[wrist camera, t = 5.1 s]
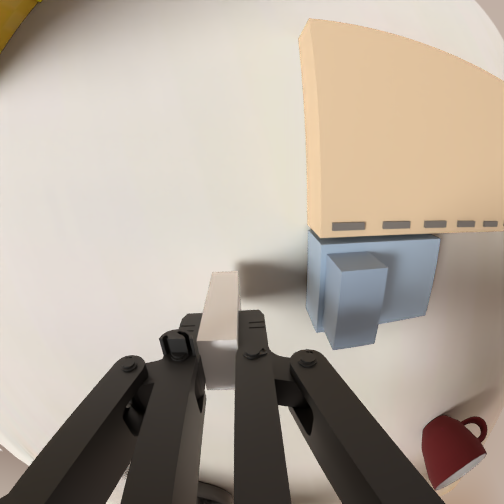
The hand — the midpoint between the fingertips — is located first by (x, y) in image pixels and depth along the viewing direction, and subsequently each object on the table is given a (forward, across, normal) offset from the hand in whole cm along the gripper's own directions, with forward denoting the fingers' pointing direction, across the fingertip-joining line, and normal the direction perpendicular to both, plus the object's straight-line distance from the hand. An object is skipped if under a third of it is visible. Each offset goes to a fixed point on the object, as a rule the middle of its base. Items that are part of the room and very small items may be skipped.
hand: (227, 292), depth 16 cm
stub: (+2, +9, 0) cm, 9 cm away
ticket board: (+2, +14, +9) cm, 17 cm away
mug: (+2, +27, -25) cm, 37 cm away
